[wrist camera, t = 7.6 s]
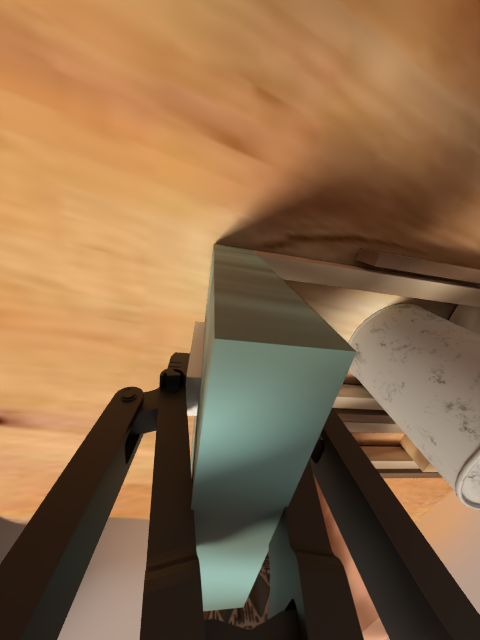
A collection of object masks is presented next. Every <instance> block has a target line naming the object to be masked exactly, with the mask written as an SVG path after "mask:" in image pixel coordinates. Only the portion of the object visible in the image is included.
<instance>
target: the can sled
mask: <svg viewBox="0 0 480 640" xmlns="http://www.w3.org/2000/svg"><path fill="white" fill-rule="evenodd" d="M283 279H285V280H292V281H299V282H306V283H313V284H320V285H327V286H334V287H341V288H348V289H356V290H363V291H370V292H377V293H384V294H391V295H398V296H405V297H412V298H419V299H426V300H433V301H440V302H447V303H454V304H458V306H457V308H456V309H455V311H454V313H453V314H452V316H451V318H450V319H449V321H450V322H453V323H455V324H457V325H459V326H461V327H463V328H466V329H468V330H470V331H472V332H474V333H476V334H479V335H480V286H474V285H468V284H462V283H455V282H449V281H443V280H437V279H431V278H424V277H418V276H412V275H406V274H399V273H393V272H387V271H381V270H375V269H368V268H362V267H356V266H350V265H343V264H337V263H331V262H325V261H319V260H312V259H306V258H300V257H294V256H288V255H281V254H275V253H269V252H263V251H256V250H250V249H244V248H238V247H232V246H225V245H219V244H214V246H213V255H212V264H211V273H210V281H209V290H208V299H207V308H206V316H205V332H204V346H203V359H202V372H201V383H200V391H199V399H198V408H197V416H195V419H194V430H193V441H192V452H191V477H192V502H191V510H194V522H195V537H196V550H197V555H198V558H199V564H200V574H201V586H202V600H203V611H212V610H222V609H231V608H241V607H244V605H245V602H246V600H247V598H248V596H249V593H250V591H251V589H252V587H253V584H254V582H255V580H256V578H257V575H258V573H259V571H260V569H261V566H262V564H263V562H264V560H265V557H266V555H267V553H268V551H269V543H270V540H271V538H272V536H273V533H274V531H275V529H276V527H277V524H278V522H279V520H280V517H281V515H282V513H283V510H284V508H285V507H288V506H289V503H290V501H291V499H292V497H293V494H294V492H295V490H296V488H297V485H298V483H299V481H300V479H301V476H302V474H303V472H304V470H305V467H306V465H307V463H308V461H309V458H310V456H311V454H312V452H313V449H314V447H315V445H316V443H317V440H318V438H319V436H320V434H321V431H322V429H323V427H324V425H325V422H326V420H327V418H328V416H329V413H330V411H331V409H332V407H333V408H349V409H370V410H384V409H383V408H382V407H381V405H380V404H379V403H378V402H377V401H376V400H375V398H374V397H373V396H372V395H371V394H370V393H369V391H368V390H367V389H366V388H365V387H364V386H362V385H347V384H343V382H344V380H345V377H346V375H347V373H348V371H349V368H350V366H351V364H352V362H353V359H354V357H355V355H356V353H357V351H356V350H355V349H353V348H352V347H351V346H350V345H349V344H348V343H347V342H346V341H345V340H344V339H343V338H342V337H341V336H340V335H339V334H338V333H337V332H336V331H335V330H334V329H333V328H332V327H331V326H330V325H329V324H328V323H327V322H326V321H325V320H324V319H323V318H322V317H321V316H320V315H319V314H318V313H316V312H315V311H314V310H313V309H312V308H311V307H310V306H309V305H308V304H307V303H306V302H305V301H304V300H303V299H302V298H301V297H300V296H299V295H298V294H297V293H296V292H295V291H294V290H293V289H292V288H291V287H290V286H289V285H288V284H287V283H286V282H285V281H284V280H283Z"/></svg>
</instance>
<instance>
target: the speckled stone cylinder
mask: <svg viewBox="0 0 480 640" xmlns="http://www.w3.org/2000/svg"><path fill="white" fill-rule="evenodd" d="M348 344H349V345H350V346H351V347H352V348H353V349H355V350H356V351H357V353H356V355H355V357H354V359H353V362H352V364H351V366H350V368H349V371H350V372H351V373H352V374H353V375H354V377H356V378H357V379H358V380H359V381H360V382H361V383H362V385H363V386H364V387H365V388H366V389H367V390H368V391H369V393H370V394H371V395H372V396H373V397H374V398H375V400H376V401H377V402H378V403H379V404H380V405H381V407H382V408H383V409H384V410H385V411H386V412H387V413H388V415H389V416H390V417H391V418H392V419H393V420H394V422H395V423H396V424H397V425H398V426H399V427H400V428H401V430H402V431H403V432H404V433H405V434H406V435H407V437H408V438H409V439H410V440H411V441H412V442H413V444H414V445H415V446H416V447H417V448H418V449H419V450H420V452H421V453H422V454H423V455H424V456H425V457H426V459H427V460H428V461H429V462H430V463H431V464H432V466H433V467H434V468H435V469H436V470H437V471H438V472H439V474H440V475H441V476H442V477H443V478H444V479H445V481H446V482H447V483H448V484H449V485H450V486H451V487H452V489H453V490H454V491H455V492H456V495H457V497H458V498H459V499H460V500H461V501H462V502H463V504H464V505H466V506H468V507H470V508H473V509H477V510H480V335H479V334H476V333H474V332H472V331H470V330H468V329H466V328H463V327H461V326H459V325H457V324H455V323H453V322H450V321H448V320H446V319H444V318H442V317H440V316H437V315H435V314H433V313H431V312H429V311H428V310H427V309H425V308H423V307H420V306H418V305H414V304H396V305H393V306H390V307H386V308H384V309H382V310H380V311H378V312H376V313H374V314H373V315H371V316H370V317H369V318H367V319H366V320H365V321H364V322H363V323H362V324H361V325H360V326H359V327H358V328H357V329H356V331H355V332H354V334H353V335H352V337H351V339H350V341H349V343H348Z"/></svg>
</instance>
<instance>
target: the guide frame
mask: <svg viewBox="0 0 480 640" xmlns="http://www.w3.org/2000/svg"><path fill="white" fill-rule="evenodd" d="M356 260H357V261H360V262H363V263H366V264H369V265H372V266H376V267H382V268H388V269H394V270H400V271H407V272H413V273H419V274H425V275H431V276H437V277H443V278H449V279H456V280H462V281H468V282H474V283H480V269H477V268H472V267H466V266H460V265H455V264H449V263H443V262H438V261H432V260H426V259H421V258H415V257H409V256H404V255H398V254H392V253H387V252H381V251H375V250H370V249H364V248H360V250H359V253H358V255H357V258H356ZM333 409H334V410H335V412H336V413H337V414H338V416H339V417H340V419H341V420H342V421H355V422H383V423H395V422H394V420H393V419H392V418H391V417H390V416H389V415H388V413H387V412H386V411H385V410H370V409H349V408H333ZM376 470H377V471H378V472H379V474H380V475H381V477H382V478H443V477H442V476H441V475H440V474H439V472H422V470H421V469H376Z"/></svg>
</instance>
